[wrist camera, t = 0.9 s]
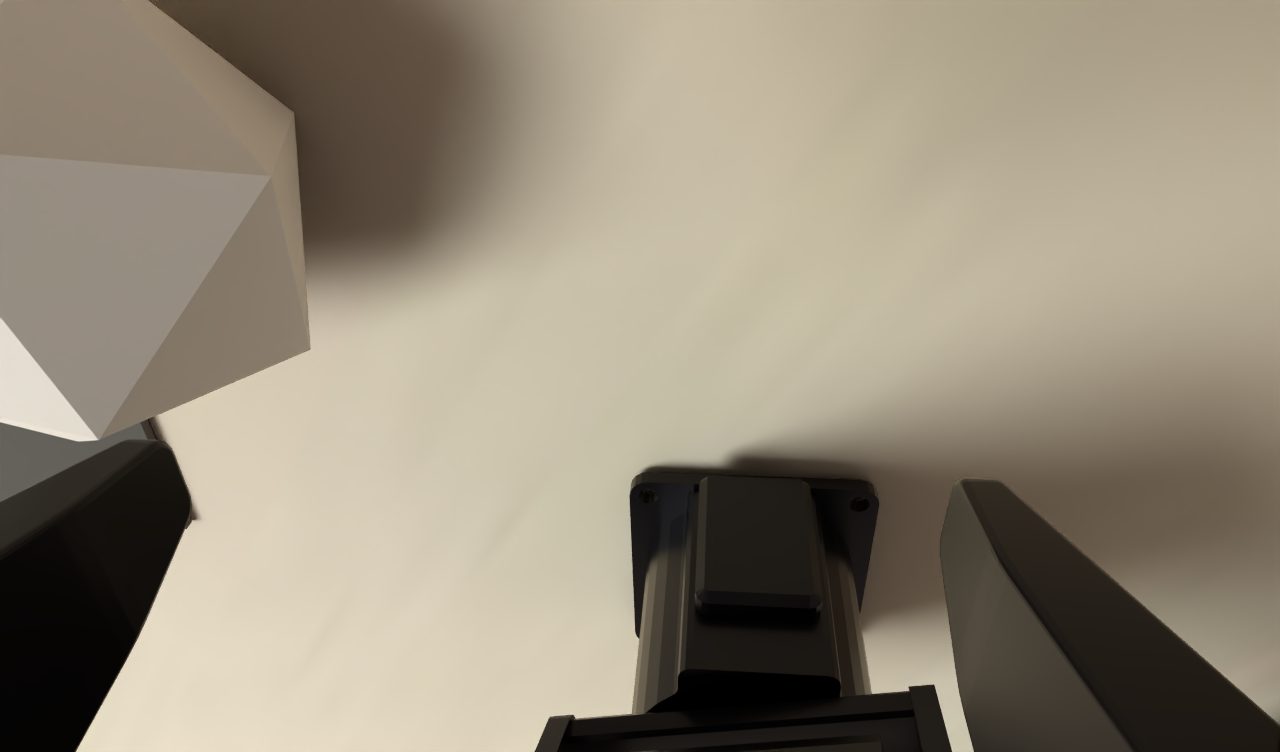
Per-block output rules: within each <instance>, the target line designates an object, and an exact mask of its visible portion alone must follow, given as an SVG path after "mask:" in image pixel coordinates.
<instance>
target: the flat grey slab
mask: <svg viewBox="0 0 1280 752" xmlns="http://www.w3.org/2000/svg"><path fill="white" fill-rule="evenodd" d="M128 439H146V440H156V438H155V435H154V433H153V431H152V428H151V426H150V424H149V421H148V419H147V420H144V421H142V422H140V423H137V424H135V425H133V426H130V427H128V428H126V429H123V430H121V431H119V432H116V433H114V434H112V435H109V436H107V437H105V438H102V439H100V440H94V441H80V442H78V441H74V440H70V439H66V438H62V437H58V436H54V435H50V434H46V433H42V432H38V431H34V430H30V429H26V428H22V427H18V426H14V425H10V424H6V423H2V422H0V501H2V500H4V499H6V498H8V497H10V496H12V495H14V494H16V493H18V492H20V491H22V490H24V489H26V488H28V487H30V486H32V485H34V484H36V483H38V482H40V481H42V480H44V479H46V478H48V477H50V476H53V475H55V474H57V473H59V472H61V471H63V470H65V469H67V468H69V467H71V466H73V465H75V464H77V463H79V462H81V461H83V460H85V459H87V458H89V457H91V456H93V455H95V454H97V453H99V452H101V451H103V450H105V449H107V448H109V447H111V446H113V445H115V444H117V443H119V442H122V441H124V440H128ZM191 522H192V521H191V519H190V518H189V521H188V523H187V525H186V528H185V529H187V528H188V526H189V525H190V523H191Z"/></svg>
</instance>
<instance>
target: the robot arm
mask: <svg viewBox="0 0 1280 752" xmlns="http://www.w3.org/2000/svg"><path fill="white" fill-rule="evenodd" d="M646 489H649V490H653V491H655V493H651V494H649V493H645V492H644V491H643V490H646ZM858 497H862V498H865V499H864V500H862V501H857V502H856V501H852V500H853V499H854V498H858ZM191 506H192V503H191V496H190V493H189V490H188V488H187V485H186V482H185V480H184V477H183V475H182V472H181V470H180V467H179V465H178V462H177V460H176V457H175V454H174V452H173V450H172V448H171V447H170V446H169V445H168V444H167V443H166V442H163V441H160V440H146V439H128V440H124V441H122V442H119V443H117V444H115V445H113V446H111V447H109V448H107V449H105V450H103V451H101V452H99V453H97V454H95V455H93V456H91V457H89V458H87V459H85V460H83V461H81V462H79V463H77V464H75V465H73V466H71V467H69V468H67V469H65V470H63V471H61V472H59V473H57V474H55V475H53V476H50V477H48V478H46V479H44V480H42V481H40V482H38V483H36V484H34V485H32V486H30V487H28V488H26V489H24V490H22V491H20V492H18V493H16V494H14V495H12V496H10V497H8V498H6V499H4V500H2V501H0V752H76V751H77V749H78V747H79V745H80V743H81V741H82V740H83V738H84V736H85V734H86V732H87V731H88V729H89V727H90V725H91V723H92V722H93V720H94V718H95V716H96V714H97V713H98V711H99V709H100V707H101V705H102V704H103V702H104V700H105V698H106V696H107V694H108V693H109V691H110V689H111V687H112V685H113V684H114V682H115V680H116V678H117V676H118V675H119V673H120V671H121V669H122V667H123V666H124V664H125V662H126V660H127V658H128V656H129V654H130V653H131V651H132V649H133V647H134V645H135V643H136V641H137V639H138V637H139V635H140V633H141V630H142V628H143V626H144V624H145V622H146V620H147V617H148V615H149V613H150V610H151V608H152V606H153V603H154V601H155V599H156V596H157V594H158V591H159V589H160V587H161V584H162V582H163V580H164V577H165V575H166V573H167V570H168V568H169V566H170V563H171V561H172V558H173V556H174V554H175V551H176V549H177V547H178V544H179V542H180V540H181V537H182V535H183V533H184V530H185V528H186V525H187V523H188V521H189V518H190V514H191ZM878 508H879V500H878V495H877V490H876V488H875V487H874V485H873V484H871V483H869V482H868V481H863V480H850V479H822V478H794V477H767V476H739V475H711V474H683V473H655V472H647V473H641V474H639V475H637V476H636V477H635V478H634V479H633V480H632V484H631V490H630V516H631V539H632V563H633V586H634V610H635V632H636V635H637V637H638V638H639V649H638V658H637V668H636V678H635V687H634V697H633V707H632V714H626V715H614V716H602V717H590V718H578V719H575V717H574V715H565V716H553V717H550V718H549V719H548V722H547V724H546V727H545V729H544V731H543V734H542V736H541V738H540V741H539V743H538V745H537V748H536V750H535V752H952V750H951V746H950V742H949V738H948V735H947V731H946V727H945V723H944V720H943V716H942V712H941V708H940V705H939V701H938V697H937V693H936V689H935V686H934V685H923V686H911V687H909V691H904V692H892V693H880V694H872V692H871V686H870V679H869V673H868V666H867V660H866V653H865V647H864V640H863V634H862V627H861V621H860V611H861V606H862V600H863V594H864V588H865V583H866V577H867V571H868V566H869V560H870V554H871V548H872V543H873V537H874V531H875V526H876V520H877V514H878ZM940 558H941V566H942V573H943V581H944V588H945V595H946V603H947V610H948V617H949V625H950V632H951V639H952V647H953V654H954V661H955V669H956V675H957V682H958V688H959V693H960V698H961V702H962V706H963V711H964V715H965V719H966V723H967V727H968V730H969V734H970V738H971V742H972V746H973V749H974V752H1280V725H1279V724H1278V723H1277V722H1276V721H1275V720H1274V719H1272V718H1271V717H1270V716H1269V715H1268V714H1267V713H1266V712H1264V711H1263V710H1262V709H1261V708H1260V707H1259V706H1258V705H1256V704H1255V703H1254V702H1253V701H1252V700H1251V699H1250V698H1248V697H1247V696H1246V695H1245V694H1244V693H1243V692H1242V691H1240V690H1239V689H1238V688H1237V687H1236V686H1235V685H1234V684H1232V683H1231V682H1230V681H1229V680H1228V679H1227V678H1226V677H1224V676H1223V675H1222V674H1221V673H1220V672H1219V671H1218V670H1216V669H1215V668H1214V667H1213V666H1212V665H1211V664H1210V663H1208V662H1207V661H1206V660H1205V659H1204V658H1203V657H1202V656H1200V655H1199V654H1198V653H1197V652H1196V651H1195V650H1194V649H1193V648H1191V647H1190V646H1189V645H1188V644H1187V643H1186V642H1185V641H1183V640H1182V639H1181V638H1180V637H1179V636H1178V635H1177V634H1175V633H1174V632H1173V631H1172V630H1171V629H1170V628H1169V627H1167V626H1166V625H1165V624H1164V623H1163V622H1162V621H1161V620H1159V619H1158V618H1157V617H1156V616H1155V615H1154V614H1153V613H1151V612H1150V611H1149V610H1148V609H1147V608H1146V607H1145V606H1143V605H1142V604H1141V603H1140V602H1139V601H1138V600H1137V599H1135V598H1134V597H1133V596H1132V595H1131V594H1130V593H1129V592H1127V591H1126V590H1125V589H1124V588H1123V587H1122V586H1121V585H1119V584H1118V583H1117V582H1116V581H1115V580H1114V579H1113V578H1111V577H1110V576H1109V575H1108V574H1107V573H1106V572H1105V571H1103V570H1102V569H1101V568H1100V567H1099V566H1098V565H1097V564H1096V563H1094V562H1093V561H1092V560H1091V559H1090V558H1089V557H1088V556H1086V555H1085V554H1084V553H1083V552H1082V551H1081V550H1080V549H1078V548H1077V547H1076V546H1075V545H1074V544H1073V543H1072V542H1070V541H1069V540H1068V539H1067V538H1066V537H1065V536H1064V535H1062V534H1061V533H1060V532H1059V531H1058V530H1057V529H1056V528H1054V527H1053V526H1052V525H1051V524H1050V523H1049V522H1048V521H1046V520H1045V519H1044V518H1043V517H1042V516H1041V515H1040V514H1038V513H1037V512H1036V511H1035V510H1034V509H1033V508H1032V507H1030V506H1029V505H1028V504H1027V503H1026V502H1025V501H1024V500H1022V499H1021V498H1020V497H1019V496H1018V495H1017V494H1016V493H1014V492H1013V491H1012V490H1011V489H1010V488H1009V487H1008V486H1006V485H1005V484H1004V483H1003V482H1001V481H999V480H997V479H992V478H970V477H963V478H960V479H959V480H957V481H956V483H955V484H954V486H953V489H952V493H951V497H950V501H949V505H948V509H947V513H946V517H945V521H944V525H943V530H942V534H941V541H940Z"/></svg>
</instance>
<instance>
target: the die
mask: <svg viewBox="0 0 1280 752" xmlns="http://www.w3.org/2000/svg"><path fill="white" fill-rule="evenodd" d="M308 350H310V335H309V320H308V306H307V291H306V277H305V262H304V248H303V233H302V219H301V204H300V190H299V175H298V161H297V146H296V132H295V117H294V112H292V111H291V110H290V109H289V108H287V107H286V106H285V105H283V104H282V103H281V102H279V101H278V100H277V99H276V98H274V97H273V96H272V95H270V94H269V93H268V92H266V91H265V90H264V89H263V88H261V87H260V86H259V85H257V84H256V83H255V82H253V81H252V80H251V79H250V78H248V77H247V76H246V75H244V74H243V73H242V72H241V71H239V70H238V69H237V68H235V67H234V66H233V65H231V64H230V63H229V62H228V61H226V60H225V59H224V58H222V57H221V56H220V55H218V54H217V53H216V52H215V51H213V50H212V49H211V48H209V47H208V46H207V45H205V44H204V43H203V42H202V41H200V40H199V39H198V38H196V37H195V36H194V35H192V34H191V33H190V32H189V31H187V30H186V29H185V28H183V27H182V26H181V25H180V24H178V23H177V22H176V21H174V20H173V19H172V18H170V17H169V16H168V15H167V14H165V13H164V12H163V11H161V10H160V9H159V8H157V7H156V6H155V5H154V4H152V3H151V2H150V1H148V0H0V422H2V423H6V424H10V425H14V426H18V427H22V428H26V429H30V430H34V431H38V432H42V433H46V434H50V435H54V436H58V437H62V438H66V439H70V440H74V441H78V442H80V441H94V440H100V439H102V438H105V437H107V436H109V435H112V434H114V433H116V432H119V431H121V430H123V429H126V428H128V427H130V426H133V425H135V424H137V423H140V422H142V421H144V420H147V419H149V418H151V417H154V416H156V415H158V414H161V413H163V412H165V411H168V410H170V409H172V408H175V407H177V406H179V405H182V404H184V403H186V402H189V401H191V400H193V399H196V398H198V397H200V396H203V395H205V394H207V393H210V392H212V391H214V390H217V389H219V388H221V387H224V386H226V385H228V384H231V383H233V382H235V381H238V380H240V379H242V378H245V377H247V376H249V375H252V374H254V373H256V372H259V371H261V370H264V369H266V368H268V367H271V366H273V365H275V364H278V363H280V362H282V361H285V360H287V359H289V358H292V357H294V356H296V355H299V354H301V353H303V352H306V351H308Z"/></svg>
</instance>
